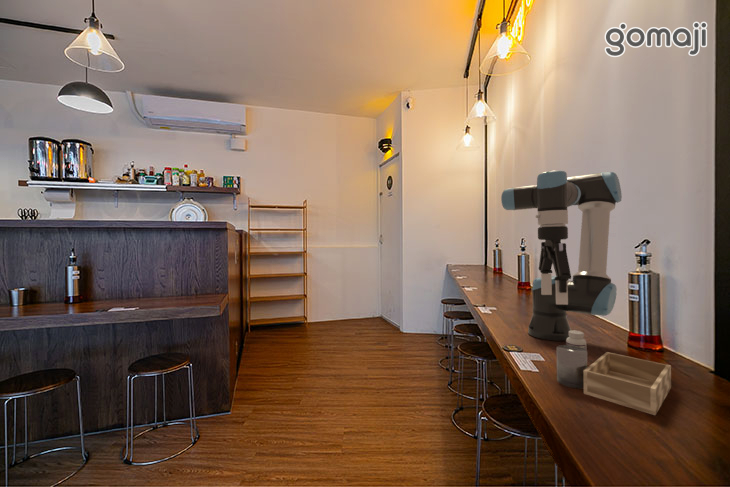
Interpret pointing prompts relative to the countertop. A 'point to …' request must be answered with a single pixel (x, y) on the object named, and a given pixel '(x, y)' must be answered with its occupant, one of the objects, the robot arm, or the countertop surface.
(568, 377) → the tin can
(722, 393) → the countertop surface
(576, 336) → the pill bottle
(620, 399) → the caddy
